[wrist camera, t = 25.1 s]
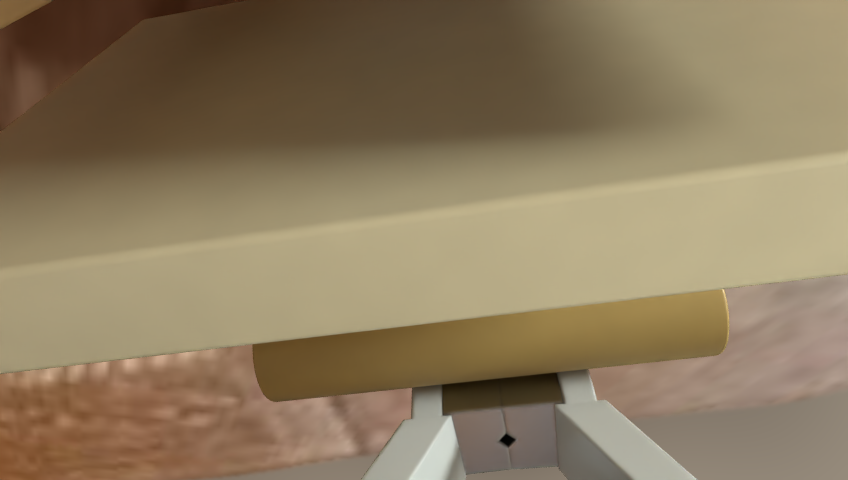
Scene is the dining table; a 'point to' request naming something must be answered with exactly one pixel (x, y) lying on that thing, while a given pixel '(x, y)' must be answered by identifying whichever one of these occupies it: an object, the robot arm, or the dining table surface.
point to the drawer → (424, 186)
